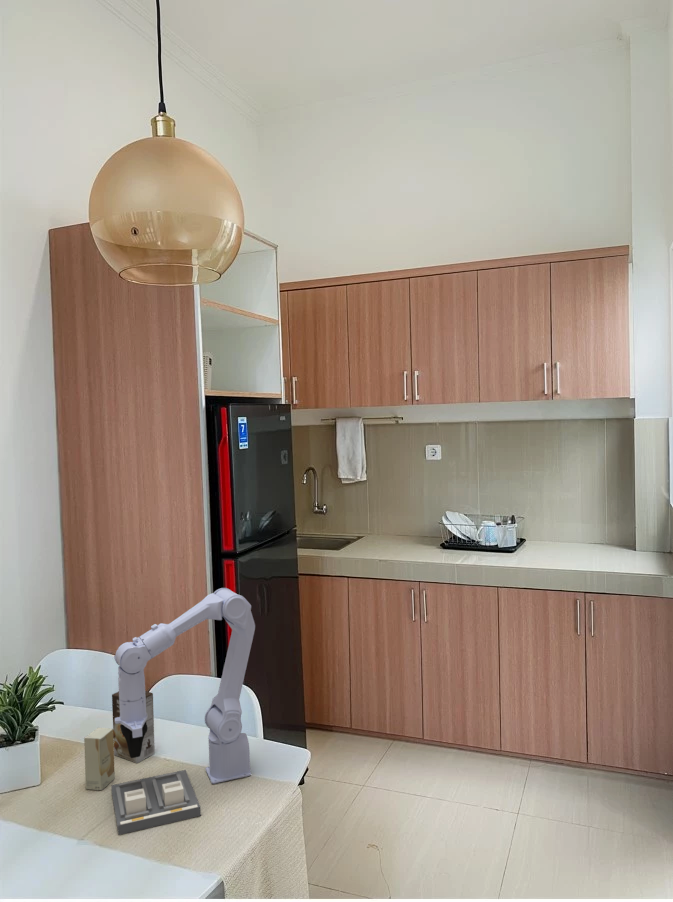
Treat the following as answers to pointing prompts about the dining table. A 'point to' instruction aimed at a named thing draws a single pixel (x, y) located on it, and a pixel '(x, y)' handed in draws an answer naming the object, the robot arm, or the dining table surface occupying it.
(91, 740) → the skincare box
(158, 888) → the dining table surface
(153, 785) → the switch board
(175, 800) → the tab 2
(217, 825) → the dining table surface
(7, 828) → the dining table surface
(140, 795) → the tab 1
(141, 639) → the robot arm
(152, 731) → the coffee box
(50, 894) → the dining table surface
